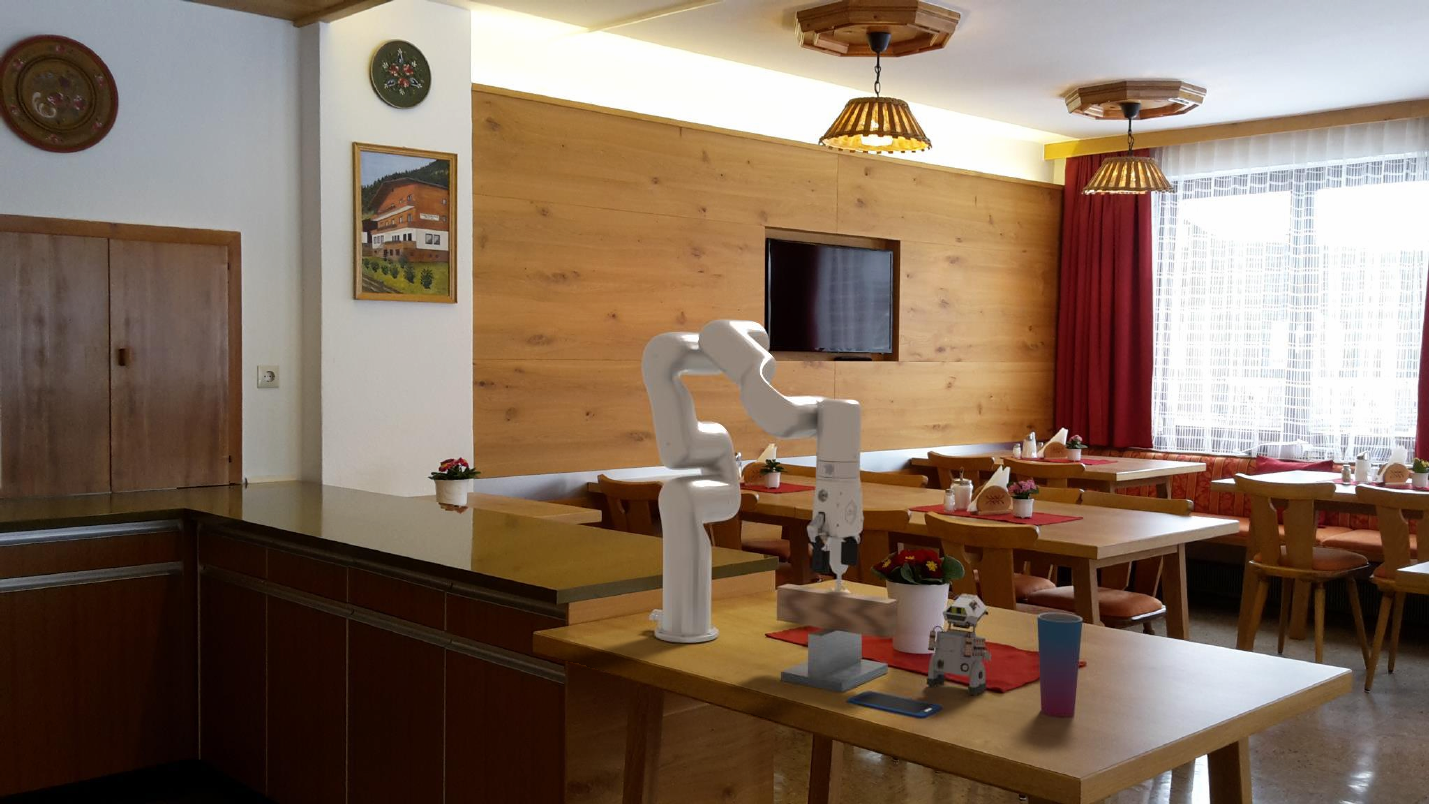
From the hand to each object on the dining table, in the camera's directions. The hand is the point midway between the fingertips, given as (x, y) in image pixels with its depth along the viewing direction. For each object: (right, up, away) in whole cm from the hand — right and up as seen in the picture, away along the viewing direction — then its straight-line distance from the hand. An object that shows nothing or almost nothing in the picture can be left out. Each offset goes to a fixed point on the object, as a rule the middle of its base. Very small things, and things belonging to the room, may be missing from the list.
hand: (835, 569), depth 202 cm
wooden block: (0, -10, 0) cm, 10 cm away
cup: (+33, -20, -19) cm, 43 cm away
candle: (+4, -18, +29) cm, 34 cm away
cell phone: (+8, -20, -16) cm, 27 cm away
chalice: (+6, -17, +51) cm, 54 cm away
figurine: (+21, -19, -5) cm, 29 cm away
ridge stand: (0, -19, 0) cm, 19 cm away
